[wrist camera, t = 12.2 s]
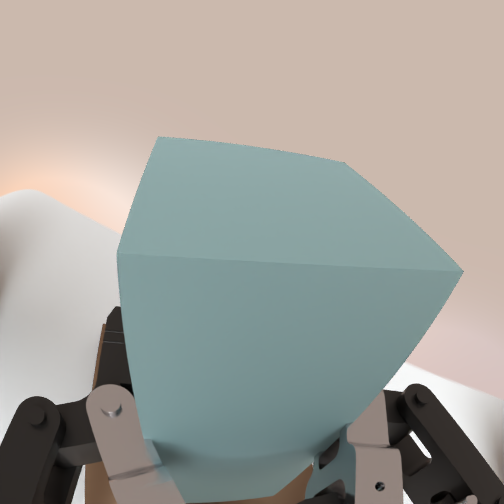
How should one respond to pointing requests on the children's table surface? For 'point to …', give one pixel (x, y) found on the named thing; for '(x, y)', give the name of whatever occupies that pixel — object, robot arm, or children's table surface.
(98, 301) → the children's table surface
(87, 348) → the children's table surface
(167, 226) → the teal block
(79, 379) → the children's table surface
